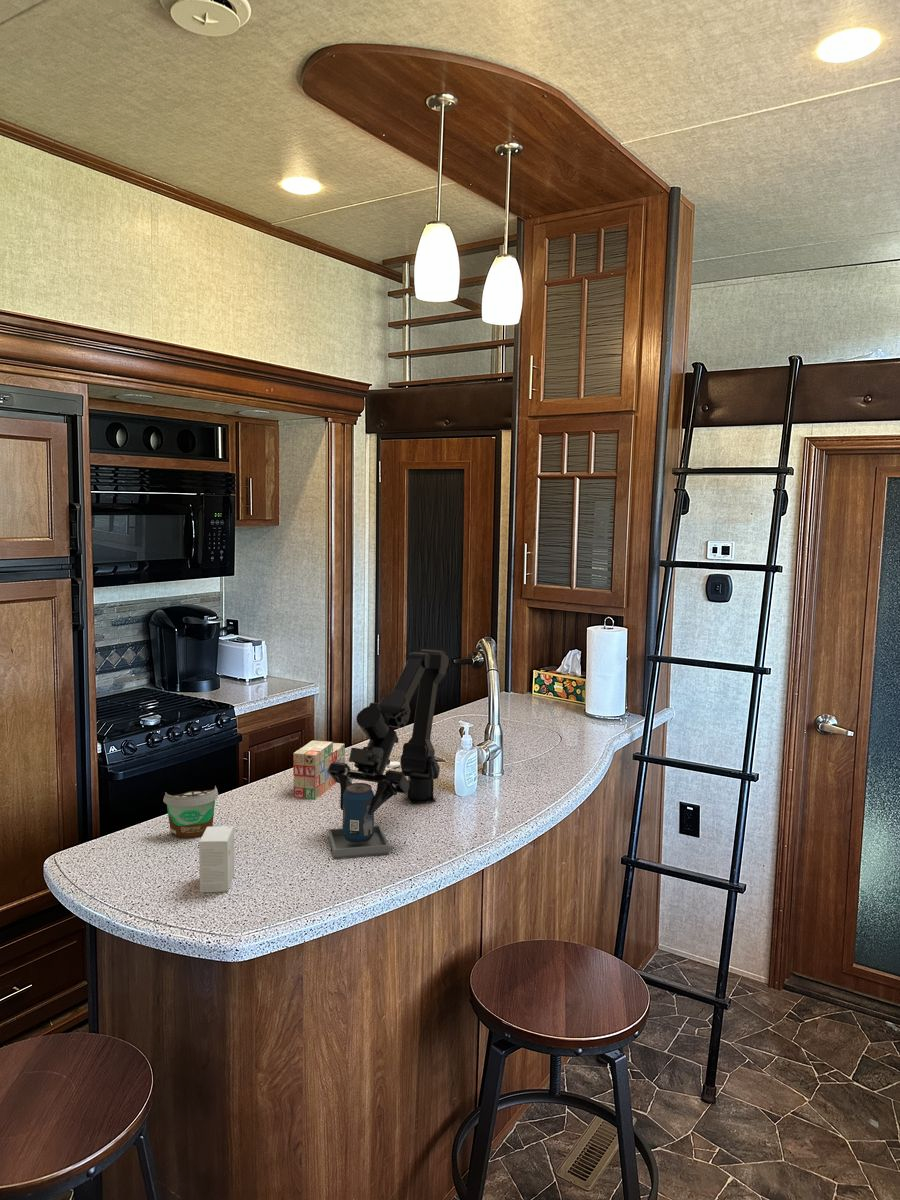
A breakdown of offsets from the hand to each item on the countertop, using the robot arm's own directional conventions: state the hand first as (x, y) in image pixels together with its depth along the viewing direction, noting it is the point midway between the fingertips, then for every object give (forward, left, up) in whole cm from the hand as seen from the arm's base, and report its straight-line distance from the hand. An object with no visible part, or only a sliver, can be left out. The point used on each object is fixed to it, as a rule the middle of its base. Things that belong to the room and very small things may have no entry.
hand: (355, 811), depth 185 cm
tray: (-1, -1, -8) cm, 8 cm away
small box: (+29, +12, -9) cm, 33 cm away
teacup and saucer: (-16, -56, -9) cm, 58 cm away
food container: (+35, -15, -8) cm, 39 cm away
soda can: (-1, -1, -7) cm, 7 cm away
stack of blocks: (+4, -44, -9) cm, 45 cm away
